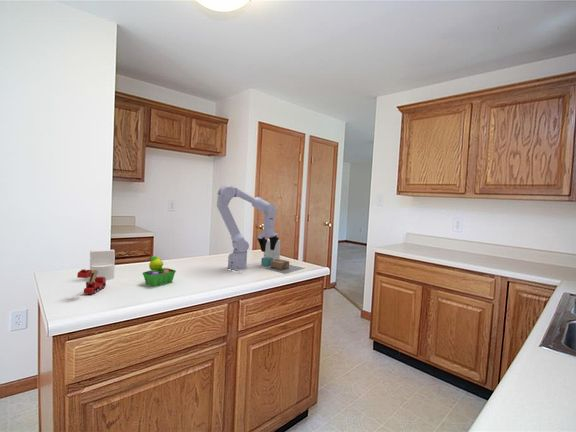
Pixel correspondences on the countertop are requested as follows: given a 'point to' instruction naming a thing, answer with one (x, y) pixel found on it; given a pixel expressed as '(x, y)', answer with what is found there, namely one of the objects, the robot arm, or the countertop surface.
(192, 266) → the countertop surface
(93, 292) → the toy fire truck
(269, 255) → the small box
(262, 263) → the teal block
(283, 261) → the base brick
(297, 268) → the baseplate
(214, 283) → the countertop surface
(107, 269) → the base with upright slab
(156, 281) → the fruit basket
